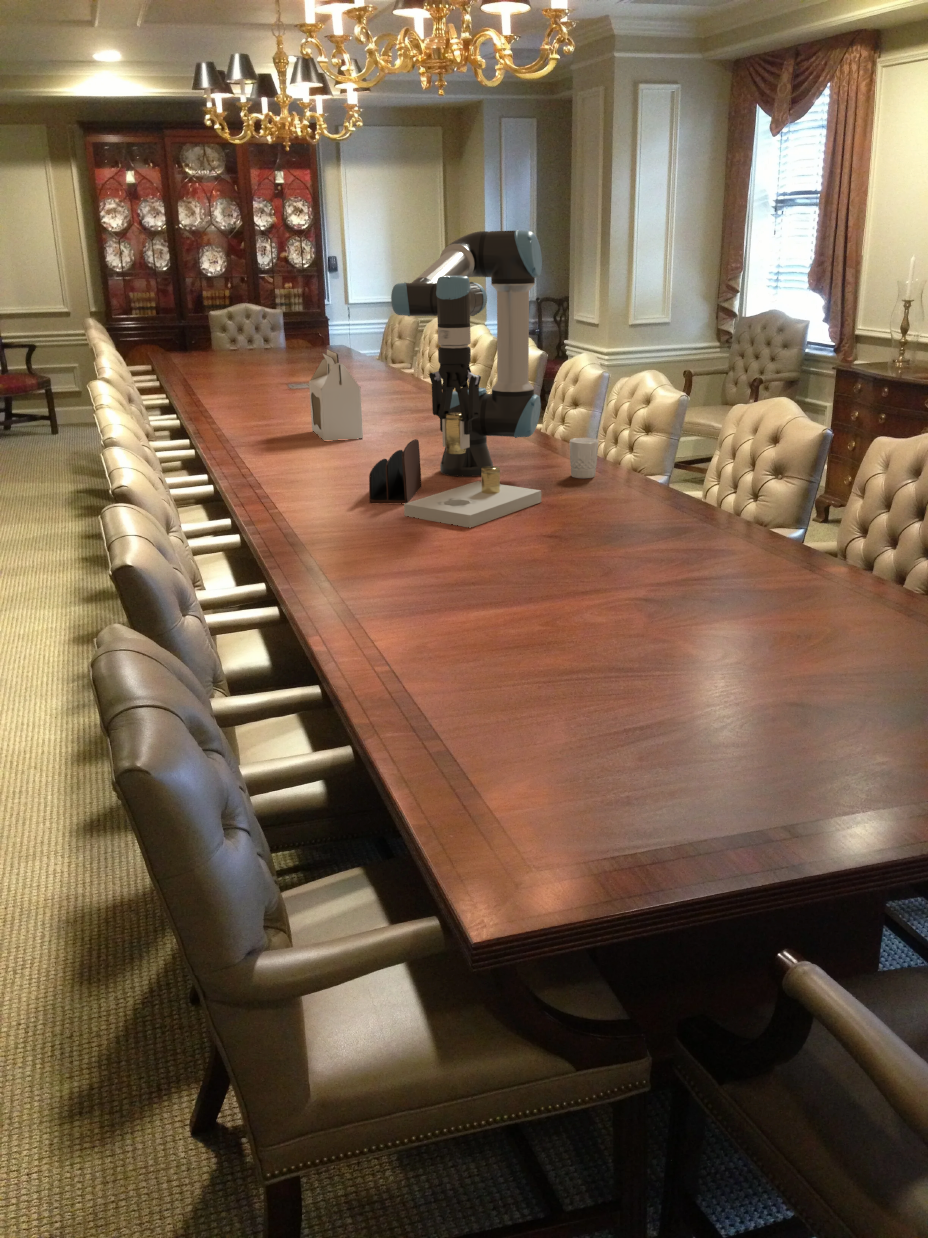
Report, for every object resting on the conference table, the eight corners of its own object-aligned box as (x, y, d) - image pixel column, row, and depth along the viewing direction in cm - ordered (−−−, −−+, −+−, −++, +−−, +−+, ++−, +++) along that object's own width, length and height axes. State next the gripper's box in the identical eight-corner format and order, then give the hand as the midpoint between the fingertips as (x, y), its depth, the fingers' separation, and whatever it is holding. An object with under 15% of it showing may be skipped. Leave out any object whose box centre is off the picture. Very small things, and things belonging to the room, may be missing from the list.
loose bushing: (442, 452, 252) (441, 414, 249) (454, 449, 255) (453, 411, 252) (458, 454, 249) (457, 416, 246) (469, 451, 253) (469, 413, 250)
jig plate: (404, 515, 257) (404, 503, 256) (477, 492, 280) (477, 480, 279) (470, 527, 246) (470, 515, 245) (541, 501, 268) (541, 490, 267)
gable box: (312, 431, 371) (306, 349, 362) (348, 428, 375) (344, 347, 365) (324, 442, 351) (319, 355, 342) (363, 439, 355) (359, 353, 346)
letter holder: (421, 487, 287) (420, 435, 282) (407, 505, 268) (405, 449, 264) (385, 486, 288) (383, 435, 284) (369, 504, 270) (366, 449, 265)
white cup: (596, 479, 292) (597, 443, 288) (567, 478, 293) (568, 442, 290) (598, 473, 299) (599, 437, 296) (570, 472, 301) (571, 437, 297)
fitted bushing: (478, 503, 268) (477, 468, 265) (488, 500, 271) (488, 465, 268) (492, 506, 265) (492, 470, 262) (503, 502, 268) (503, 467, 265)
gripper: (414, 345, 246) (417, 445, 254) (475, 349, 236) (476, 453, 244) (434, 342, 252) (437, 440, 260) (494, 346, 242) (495, 448, 250)
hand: (456, 446), depth 252 cm, fingers closed on loose bushing, 4 cm apart
